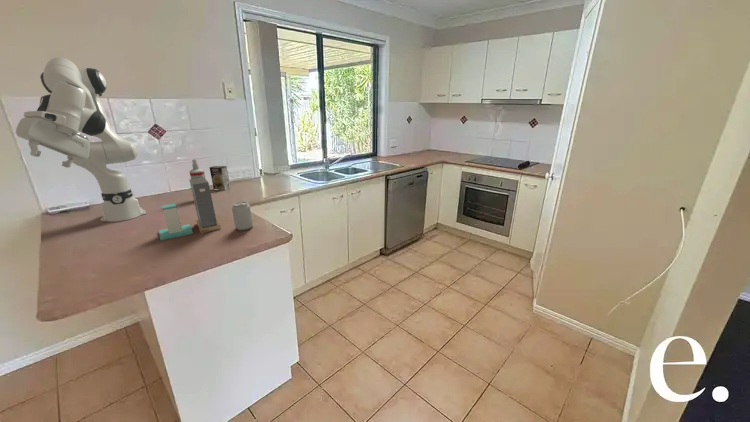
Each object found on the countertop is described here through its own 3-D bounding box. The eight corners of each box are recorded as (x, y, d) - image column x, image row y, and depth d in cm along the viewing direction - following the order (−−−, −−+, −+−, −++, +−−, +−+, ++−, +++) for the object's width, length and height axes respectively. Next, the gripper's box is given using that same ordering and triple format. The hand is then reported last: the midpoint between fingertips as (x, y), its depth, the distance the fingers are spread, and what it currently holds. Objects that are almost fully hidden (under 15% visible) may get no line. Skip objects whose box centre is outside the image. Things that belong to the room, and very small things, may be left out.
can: (236, 232, 134) (231, 206, 130) (235, 227, 140) (230, 202, 136) (254, 229, 137) (250, 203, 133) (252, 224, 143) (248, 199, 139)
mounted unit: (196, 223, 145) (186, 179, 138) (214, 220, 150) (205, 176, 143) (201, 233, 134) (190, 185, 127) (220, 228, 138) (211, 182, 131)
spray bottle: (192, 200, 184) (183, 160, 176) (203, 197, 191) (195, 158, 183) (202, 201, 182) (192, 160, 174) (212, 198, 188) (204, 158, 180)
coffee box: (213, 190, 208) (208, 167, 203) (219, 188, 214) (215, 165, 209) (225, 190, 207) (220, 167, 202) (231, 188, 213) (226, 165, 208)
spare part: (168, 230, 135) (161, 205, 131) (181, 227, 138) (175, 203, 134) (169, 233, 131) (162, 208, 127) (182, 231, 134) (176, 205, 130)
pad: (159, 232, 136) (158, 230, 136) (189, 226, 143) (189, 224, 142) (160, 240, 127) (160, 238, 127) (193, 233, 134) (192, 231, 133)
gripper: (83, 139, 116) (74, 172, 113) (18, 109, 96) (5, 148, 93) (98, 138, 116) (89, 172, 113) (36, 108, 96) (23, 148, 93)
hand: (51, 161), depth 103 cm, fingers open, 8 cm apart
